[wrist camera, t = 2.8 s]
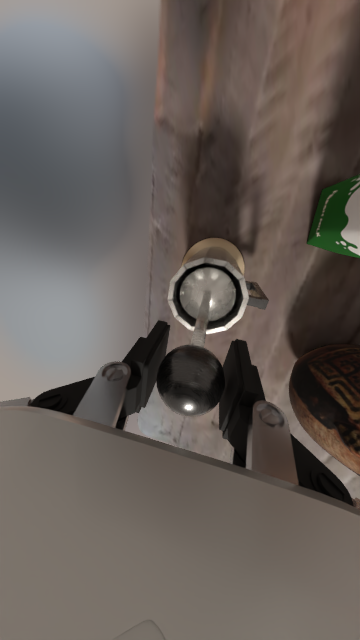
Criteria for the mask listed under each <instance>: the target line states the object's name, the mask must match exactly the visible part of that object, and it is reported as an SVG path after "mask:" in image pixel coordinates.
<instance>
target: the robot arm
mask: <svg viewBox="0 0 360 640" xmlns="http://www.w3.org/2000/svg"><path fill="white" fill-rule="evenodd" d="M169 330H170V325H167V322H164V321H160V320H159V321H158V322H157V323H156V325H155V326H154V328H153V329H152V331H151V332H150V334H149V335H148V336H147V338H144V337H140V338H139V339H138V341H137V342H136V343H135V345H134V346H133V347H132V349H131V350H130V351H129V353H128V354H127V356H126V357H125V358H124V360H123V361H122V362H116V361H115V362H110V363H107V364H105V365H104V366H102V367H101V368H100V370H99V371H98V373H97V375H96V376H95V377H93V378H89V379H86V380H82V381H79V382H75V383H72V384H69V385H65V386H62V387H58V388H55V389H51V390H49V391H46V392H43V393H42V394H40V395H39V396H37V397H36V398H35V399H33V400H31V399H30V397H27V398H21V399H15V400H9V401H3V402H0V640H360V500H359V499H358V498H355V499H353V498H351V496H350V494H349V492H348V490H347V489H346V487H345V486H344V484H343V483H342V482H341V481H340V480H339V479H338V478H337V477H336V475H334V474H333V473H332V472H331V471H330V470H329V469H328V468H327V467H326V466H325V465H324V464H323V463H322V462H321V461H319V460H318V459H317V458H316V457H315V456H314V455H313V454H312V453H311V452H310V451H309V450H308V449H307V448H306V447H304V446H303V445H302V444H301V443H300V442H299V441H298V440H297V439H296V438H295V437H294V436H293V435H292V434H291V433H290V430H289V424H288V420H287V417H286V416H285V414H284V413H283V412H282V411H281V410H280V409H279V408H278V407H277V406H275V405H274V404H272V403H270V402H267V401H266V400H265V396H264V392H263V388H262V385H261V381H260V377H259V373H258V369H257V367H256V366H254V365H252V364H251V360H250V356H249V351H248V347H247V343H246V341H242V340H238V339H236V340H235V341H232V342H231V345H230V348H229V351H228V354H227V356H226V359H225V362H224V365H223V371H224V375H225V388H224V392H223V395H222V397H221V399H220V401H219V429H220V430H222V431H223V438H224V439H227V440H228V441H229V442H230V444H231V445H232V448H231V456H230V463H227V462H223V461H220V460H217V459H214V458H211V457H208V456H204V455H201V454H198V453H195V452H191V451H188V450H185V449H182V448H179V447H175V446H172V445H169V444H166V443H162V442H159V441H156V440H153V439H150V438H146V437H143V436H140V435H136V434H133V433H130V432H126V431H125V427H126V424H127V421H128V417H129V415H131V414H133V413H135V412H137V413H139V412H140V409H141V407H144V408H145V406H146V404H147V402H148V399H149V397H150V395H151V392H152V390H153V388H154V385H155V383H156V381H157V372H158V368H159V366H160V364H161V362H162V360H163V359H164V357H165V355H166V349H167V343H168V336H169Z"/></svg>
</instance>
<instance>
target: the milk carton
mask: <svg viewBox="0 0 360 640" xmlns="http://www.w3.org/2000/svg"><path fill="white" fill-rule="evenodd" d="M307 244H310V245H313V246H316V247H319V248H322V249H325V250H329V251H332V252H335V253H339V254H343V255H347V256H352V257H357V258H360V174H359V175H356V176H354V177H352V178H349V179H347V180H344V181H342V182H340V183H337V184H335V185H332V186H330V187H327V188H325V189H322V192H321V196H320V199H319V203H318V206H317V210H316V213H315V217H314V220H313V224H312V227H311V230H310V234H309V237H308V241H307Z"/></svg>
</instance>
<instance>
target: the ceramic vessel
mask: <svg viewBox="0 0 360 640" xmlns="http://www.w3.org/2000/svg"><path fill="white" fill-rule="evenodd" d="M289 397H290V402H291V405H292V408H293V411H294V413H295V415H296V417H297V419H298V421H299V422H300V424H301V426H302V427H303V428H304V430H305V431H306V432H307V433H308V434H309V436H310V437H311V438H312V439H313V440H314V441H315V442H316V443H318V444H319V445H320V446H321V447H322V448H323V449H324V450H326V451H327V452H328V453H329V454H330V455H332V456H333V457H334V458H335V459H337V460H338V461H339V462H341V463H342V464H343V465H345V466H346V467H347V468H349V469H350V470H352V471H353V472H355V473H356V474H357V475H359V476H360V346H359V345H349V344H337V345H329V346H324V347H320V348H318V349H315V350H313V351H311V352H309V353H307V354H305V355H303V356H302V357H300V358H299V359H298V360H297V362H296V363H295V365H294V367H293V370H292V373H291V377H290V382H289Z"/></svg>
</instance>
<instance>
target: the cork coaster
mask: <svg viewBox="0 0 360 640" xmlns="http://www.w3.org/2000/svg"><path fill="white" fill-rule="evenodd" d="M210 246H213V247H220V248H223V249H226V250H227V251H228V252H229V253H230V254H231V255H232V256H233V257H234V258H235V260H236V262H237V264H238V266H239V268H240V270H241V272H242V274H243V276H244V261H243V257H242V255H241V253H240V252H239V250H238V249H237V248H236V247H235V246H234V245H233V244H232V243H230V242H229V241H226V240H224V239H220V238H209V239H205V240H202V241H200V242H198V243H196V244H195V245H194V246H192V247H191V248H190V250H189V251H188V252H187V254H186V255H185V257H184V260H183V263H182V266H183V265H184V264H185V263H186V262H187V261H188V260H189V259H190V258H191V257H192V256H193V255H194V254H195V253H196V252H197V251H199V250H202V249H204V248H207V247H210Z"/></svg>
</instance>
